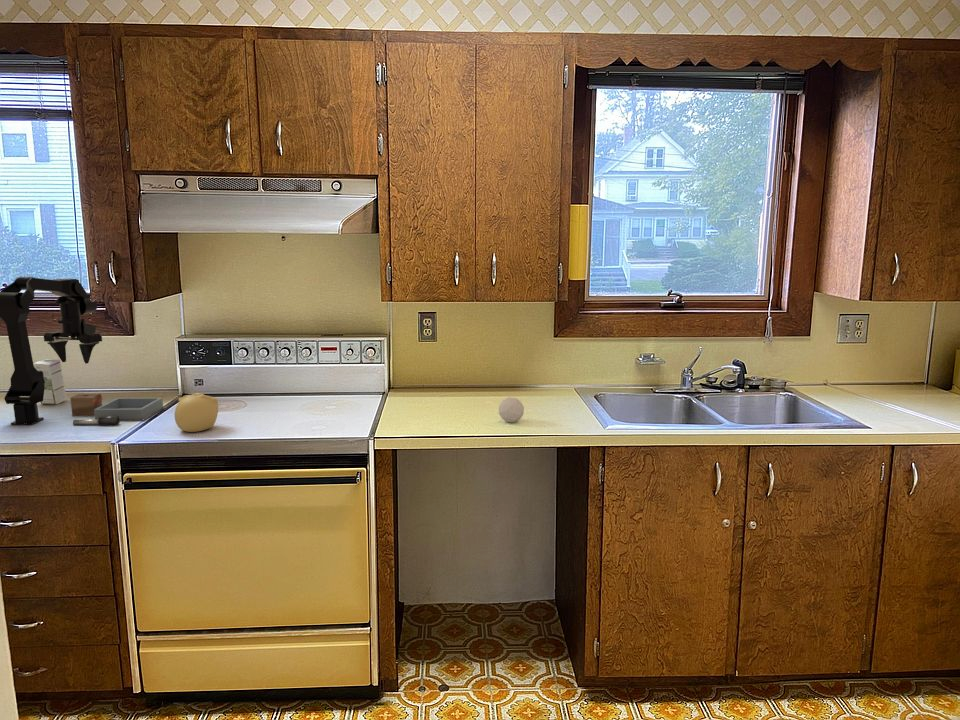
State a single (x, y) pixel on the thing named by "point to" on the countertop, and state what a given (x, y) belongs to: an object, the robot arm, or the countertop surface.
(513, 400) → the ball
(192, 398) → the sculpture
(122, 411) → the tray
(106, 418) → the pin gauge
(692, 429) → the countertop surface
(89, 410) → the block
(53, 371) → the syrup box
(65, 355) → the robot arm
